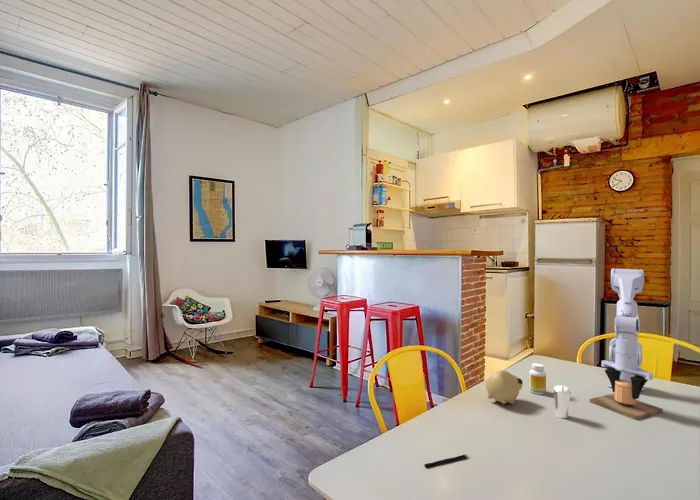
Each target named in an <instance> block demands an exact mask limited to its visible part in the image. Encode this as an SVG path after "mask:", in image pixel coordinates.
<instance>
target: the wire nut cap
mask: <svg viewBox="0 0 700 500" xmlns="http://www.w3.org/2000/svg"><path fill="white" fill-rule="evenodd" d="M614 393H615V400H616V401H618V402H621V403H624V404H632V405H633V404H636V400H637V399H633V398H632V383H631V381H628V380H621V379H617V380H615V392H614Z"/></svg>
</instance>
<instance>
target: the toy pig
mask: <svg viewBox="0 0 700 500" xmlns="http://www.w3.org/2000/svg"><path fill="white" fill-rule="evenodd" d="M523 383H524V382H523V380H522V379H521V378H520V377H518V376H517V375H514V374H511V372H509V371H507V370H498V371H494V373H492V374H490V375H489V376H488V378H487V379H486V381H485V388H486V391H487V392H486V393H487V395H486V396H487V398H488V399H491V400H492V399H493V400H495V401H497V402H499V403H501V404H506V403H509V404H511V405H514V404H515V400H516V399H517V398H518V396H519V393H520V390H521V389H522V388H523Z"/></svg>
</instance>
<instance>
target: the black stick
mask: <svg viewBox="0 0 700 500" xmlns="http://www.w3.org/2000/svg"><path fill="white" fill-rule="evenodd" d="M469 457H470V456H469V455H468V454H462V455H458V456H455V457H450V458H444V459H441V460H437V461H432V462H428V463H425V464H424V465H423V466H424V468H425V469H430V468H433V467H437V466H440V465H445V464H450V463H455V462H459V461H461V460H464V459H468V458H469Z"/></svg>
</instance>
